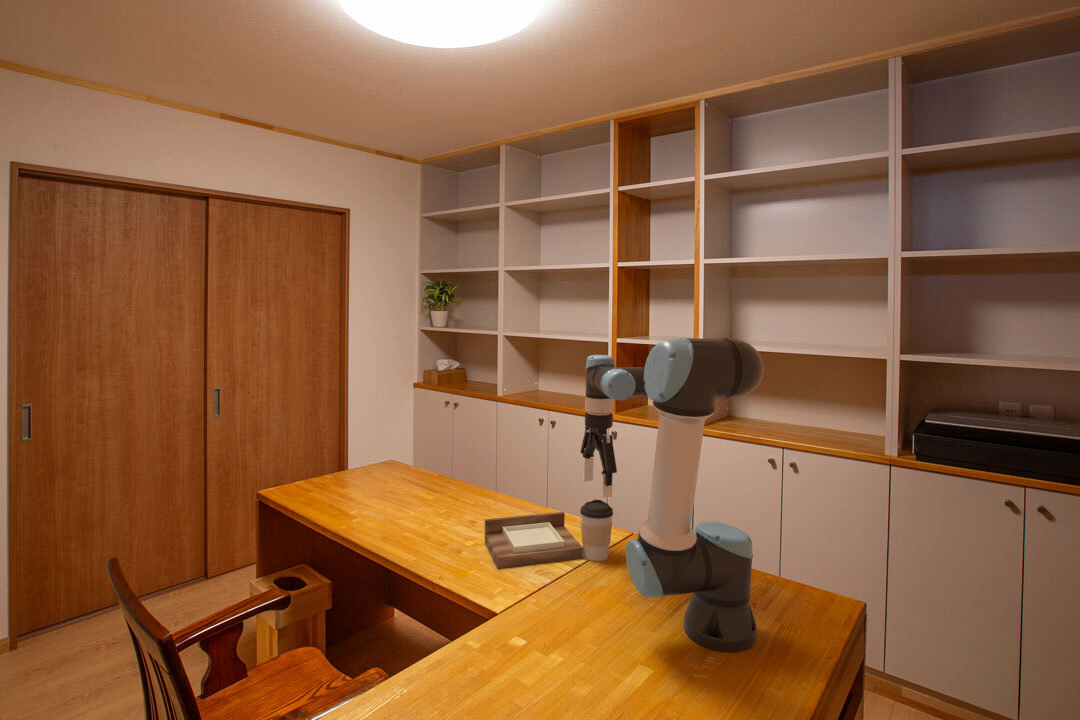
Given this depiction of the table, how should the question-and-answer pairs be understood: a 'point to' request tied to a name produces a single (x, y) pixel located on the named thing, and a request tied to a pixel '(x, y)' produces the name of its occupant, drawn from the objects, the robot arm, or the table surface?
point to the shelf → (508, 558)
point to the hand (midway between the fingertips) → (596, 488)
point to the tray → (532, 537)
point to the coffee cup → (596, 529)
